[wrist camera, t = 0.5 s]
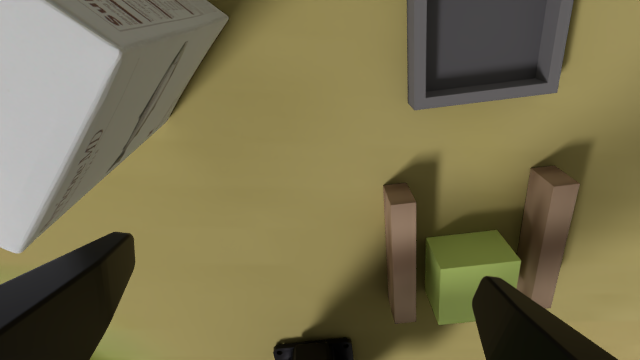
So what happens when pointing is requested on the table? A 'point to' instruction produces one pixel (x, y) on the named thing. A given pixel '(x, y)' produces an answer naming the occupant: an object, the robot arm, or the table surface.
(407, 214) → the lane rails
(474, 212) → the table surface
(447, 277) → the lime block
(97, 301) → the robot arm
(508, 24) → the trap pit
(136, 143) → the supplement box
